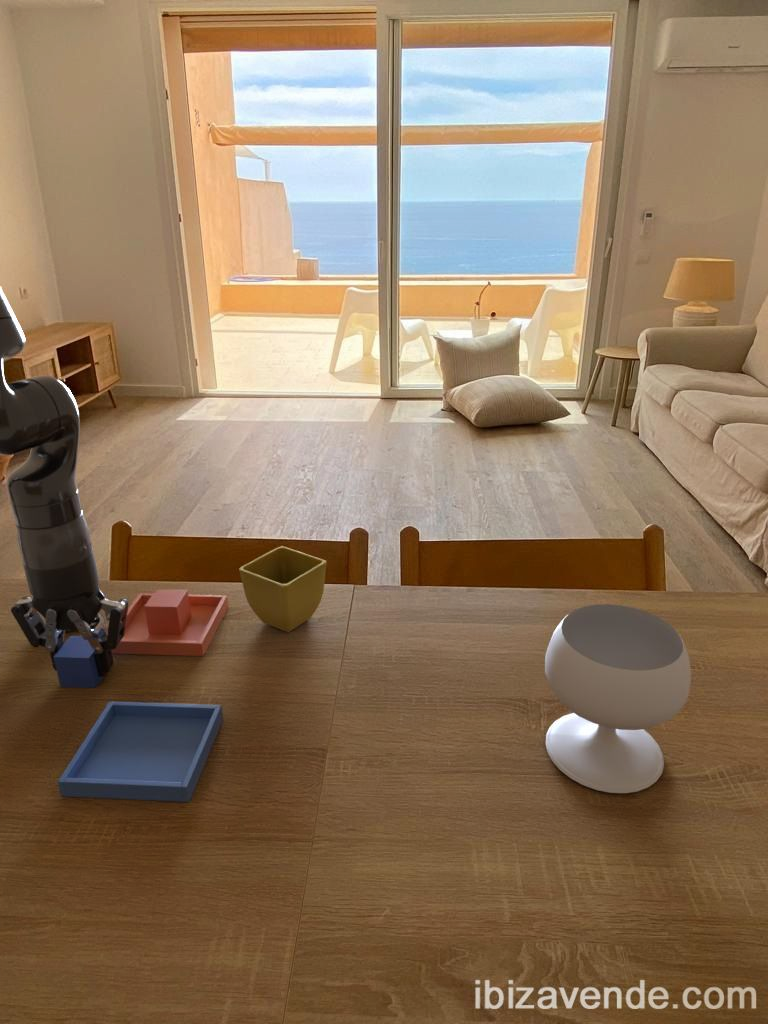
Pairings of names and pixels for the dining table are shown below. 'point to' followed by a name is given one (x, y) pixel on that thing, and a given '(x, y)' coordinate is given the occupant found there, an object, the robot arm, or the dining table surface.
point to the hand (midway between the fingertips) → (85, 671)
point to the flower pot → (284, 586)
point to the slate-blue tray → (143, 752)
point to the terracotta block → (168, 612)
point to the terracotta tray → (189, 643)
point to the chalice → (614, 694)
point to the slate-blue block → (76, 664)
